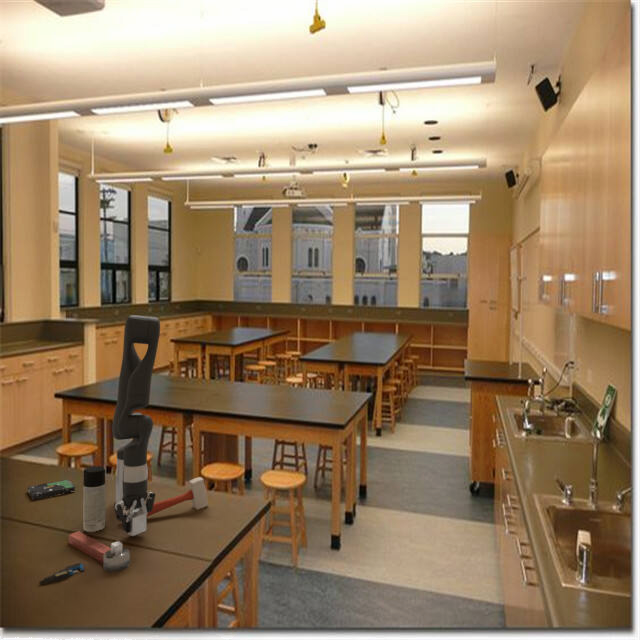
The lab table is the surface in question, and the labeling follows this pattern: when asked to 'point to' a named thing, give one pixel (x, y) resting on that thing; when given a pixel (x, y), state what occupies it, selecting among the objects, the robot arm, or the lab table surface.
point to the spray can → (94, 499)
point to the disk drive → (50, 489)
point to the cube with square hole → (137, 522)
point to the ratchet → (102, 551)
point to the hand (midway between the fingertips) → (134, 529)
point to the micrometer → (62, 574)
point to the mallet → (185, 497)
